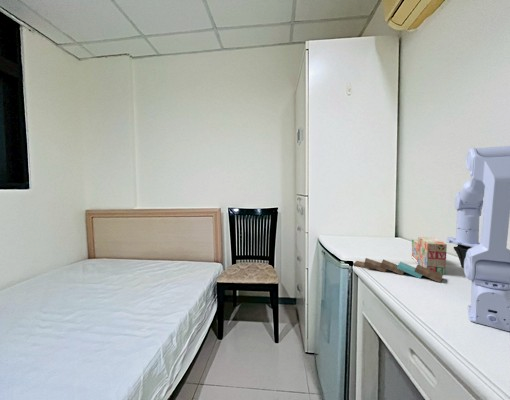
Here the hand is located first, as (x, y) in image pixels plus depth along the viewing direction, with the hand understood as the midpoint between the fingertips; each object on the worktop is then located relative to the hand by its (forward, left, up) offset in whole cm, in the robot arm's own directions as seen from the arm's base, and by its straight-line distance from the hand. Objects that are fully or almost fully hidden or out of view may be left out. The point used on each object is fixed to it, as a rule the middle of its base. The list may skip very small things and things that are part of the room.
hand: (466, 268), depth 80 cm
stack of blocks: (+17, +12, -6) cm, 22 cm away
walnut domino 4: (0, +6, -5) cm, 8 cm away
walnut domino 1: (0, +28, -6) cm, 29 cm away
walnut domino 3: (0, +18, -5) cm, 19 cm away
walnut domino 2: (-1, +24, -5) cm, 25 cm away
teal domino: (0, +12, -5) cm, 13 cm away
